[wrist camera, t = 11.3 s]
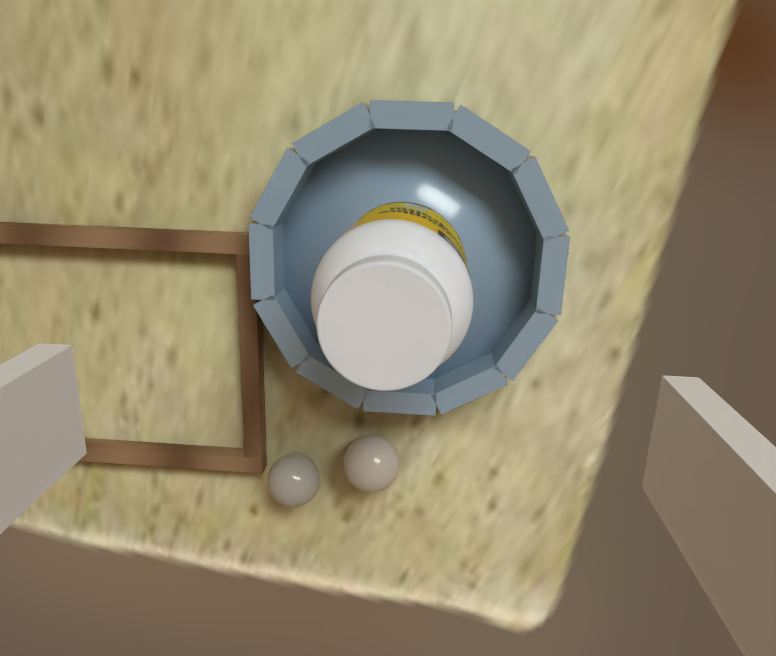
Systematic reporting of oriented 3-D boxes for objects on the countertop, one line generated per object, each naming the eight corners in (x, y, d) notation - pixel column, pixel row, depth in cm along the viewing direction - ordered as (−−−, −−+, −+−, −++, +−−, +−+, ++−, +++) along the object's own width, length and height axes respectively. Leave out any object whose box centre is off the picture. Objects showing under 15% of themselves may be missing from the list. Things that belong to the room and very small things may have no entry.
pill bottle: (488, 279, 32) (517, 356, 21) (386, 344, 33) (362, 447, 22) (419, 173, 30) (410, 194, 19) (316, 245, 32) (253, 303, 21)
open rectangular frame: (-140, 437, 39) (-154, 445, 38) (-196, 213, 34) (-213, 215, 33) (266, 464, 37) (262, 473, 36) (259, 233, 33) (254, 236, 32)
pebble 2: (347, 471, 37) (339, 501, 34) (347, 423, 36) (339, 449, 33) (400, 475, 36) (397, 505, 33) (402, 426, 36) (399, 453, 32)
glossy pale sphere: (275, 487, 37) (262, 515, 35) (274, 443, 36) (260, 468, 34) (324, 490, 37) (314, 519, 34) (324, 446, 36) (314, 472, 33)
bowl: (269, 383, 35) (254, 404, 33) (261, 100, 31) (243, 96, 28) (538, 399, 34) (547, 422, 32) (572, 109, 30) (585, 106, 27)
